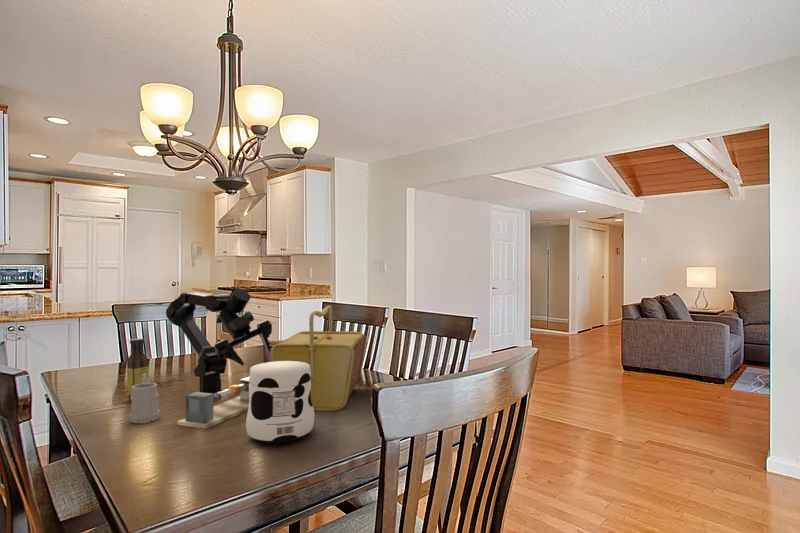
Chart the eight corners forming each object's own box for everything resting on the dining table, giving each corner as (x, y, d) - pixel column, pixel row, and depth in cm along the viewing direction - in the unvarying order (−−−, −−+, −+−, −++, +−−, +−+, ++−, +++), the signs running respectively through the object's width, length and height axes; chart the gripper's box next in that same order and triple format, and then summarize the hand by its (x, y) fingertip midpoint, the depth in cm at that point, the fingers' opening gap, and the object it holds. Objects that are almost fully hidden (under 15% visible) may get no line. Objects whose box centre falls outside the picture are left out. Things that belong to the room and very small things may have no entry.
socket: (196, 416, 136) (196, 391, 136) (213, 418, 134) (213, 393, 134) (185, 421, 133) (185, 395, 132) (203, 423, 131) (202, 397, 130)
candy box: (289, 379, 184) (289, 339, 184) (286, 382, 180) (286, 341, 180) (266, 379, 185) (266, 339, 184) (263, 382, 180) (262, 341, 180)
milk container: (280, 421, 135) (279, 357, 135) (328, 431, 127) (327, 364, 126) (230, 440, 120) (230, 369, 120) (281, 454, 112) (280, 377, 112)
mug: (129, 425, 132) (129, 382, 132) (129, 414, 142) (129, 373, 142) (160, 421, 136) (160, 379, 135) (158, 410, 146) (158, 370, 146)
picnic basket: (353, 413, 142) (353, 312, 142) (268, 412, 144) (268, 312, 143) (367, 388, 171) (366, 304, 171) (296, 387, 173) (295, 304, 173)
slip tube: (256, 385, 160) (256, 375, 160) (264, 386, 159) (264, 375, 159) (209, 403, 140) (209, 391, 140) (219, 404, 138) (219, 392, 138)
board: (251, 394, 163) (251, 391, 163) (276, 396, 160) (276, 393, 160) (177, 424, 132) (177, 421, 132) (206, 429, 129) (206, 425, 129)
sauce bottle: (152, 396, 161) (152, 337, 161) (143, 401, 155) (143, 340, 155) (133, 396, 161) (133, 337, 161) (123, 401, 155) (123, 340, 155)
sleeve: (257, 392, 161) (257, 373, 161) (267, 393, 160) (267, 374, 160) (240, 399, 153) (239, 379, 153) (250, 401, 152) (250, 380, 152)
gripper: (203, 320, 147) (227, 358, 140) (259, 296, 157) (284, 330, 150) (206, 340, 155) (229, 377, 148) (259, 316, 165) (282, 349, 159)
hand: (257, 357), depth 151 cm, fingers open, 9 cm apart
